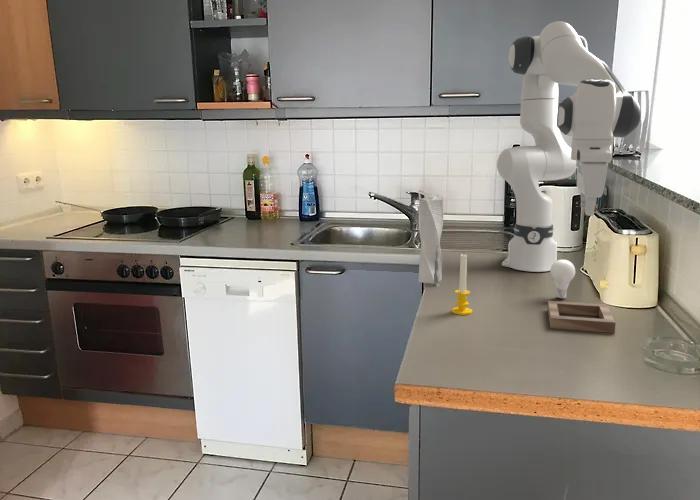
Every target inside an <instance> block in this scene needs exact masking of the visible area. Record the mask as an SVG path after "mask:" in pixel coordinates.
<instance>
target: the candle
mask: <svg viewBox="0 0 700 500" xmlns="http://www.w3.org/2000/svg"><path fill="white" fill-rule="evenodd" d="M467 258H468V255H467V254H465V253H461V254H460V261H459V285H458V286H459V287H458V289H457V290H455V291H454V293H455V294H457V301H456V302H455V305H457V306H456V307H453V308H452V309H451V313H452V312H453V314H454V313H455V314H454V315H457V314H458V315H459V316H468V315H472V313H473V309H472V308H469V307H467V306H469V304H470V303H469V301H467V299H468V297H467V295H469V294H471V291H470V290H467V269H468V267H467V266H468V259H467Z"/></svg>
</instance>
